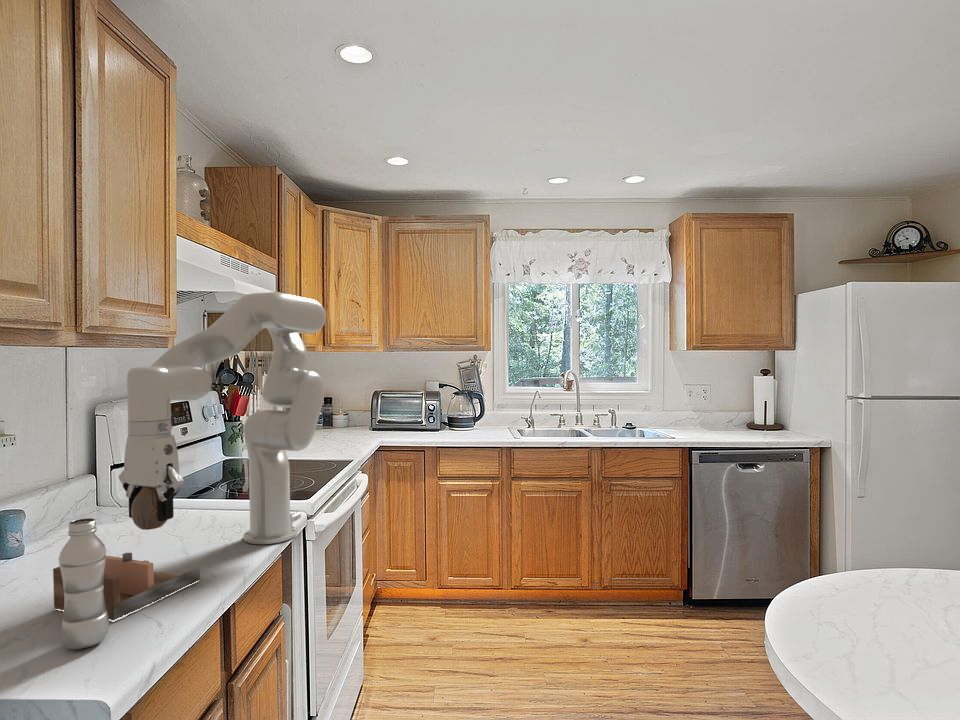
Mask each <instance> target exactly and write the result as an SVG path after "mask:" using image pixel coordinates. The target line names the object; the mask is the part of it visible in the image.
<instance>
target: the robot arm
mask: <svg viewBox="0 0 960 720" xmlns="http://www.w3.org/2000/svg"><path fill="white" fill-rule="evenodd" d="M326 319H327V315H326V310H325V308H324V306H323V305H322V303H320V302H319V301H317V300H316V299H314V298H313V299H312V298H309V297H308V298H307V297H304V296H298V295H295V294H289V293H284V292H277V291H275V292H273V291H271V292H269V291H268V292H254V293H253V292H252V293H248V294H245V295H243V296H242V297H240V298H239V299H238V300H237V301H236V302H235V303H233V304H232V305H231V306H230V307H229V308H228V309H227V310H226V311H225V312H224V313H223V314H222V315H220V316H219V318H218V319H216V320H215V322H213V323H212V324H211V325H210V326H209V327H207V328H206V329H204V330H203V329H202V330H201V331H199V332H197V333H196V334H195V333H194V335H192V336H190V337H188V338H187V339H184V340H183V341H179V343H177V344H175V345H174V346H172V347H170V349H169V348H168V350H167V351H166V352H164V353H163V354H162V355H161V356H160V357H159V358H157V360H155V362H154V363H152V364H151V365H150V366H137V367H133V368H130V369H129V370H128V371H127V375H126V376H127V377H126V382H127V383H126V387H127V389H126V390H127V391H126V392H127V436H126V437H127V438H126V443H125V450H124V461H123V463H124V464H123V465H124V466H123V467H124V468H123V469H124V470H123V471H121V473H120V474H119V475H118V480H119V481H120V483H121V484H122V487H123V489H124V491H125V493H126V494H125V496H126V497H127V498H128V518H130V519H132V516H131V506H132V503H133V500H134V498H135V497H136V495H137V494H138V493H139V492H140V490H141V489H142V487H152V488H156V490H157V493H158V495H159V498H160V500H161V501H158V521H160V522H162V521H165V520H167V521H168V520H171V519H173V518H174V499H176V496H177V494H178V493H179V492H180V489H182V486H183V485H184V483H185V480H184V479H183V478H182V477H181V475H180V465H179V463H180V462H179V461H180V460H179V454H178V447H177V441H176V439H175V435H174V434H172V429H173V425H172V407H171V406H172V405H171V402H172V401H184V402H185V401H197V400H199V399H202V398H205V396H207V394H208V393H209V392H210V391H211V388H212V385H213V381H212V380H213V379H212V377H211V375H210V373H209V372H208V371H207V369H205V368H204V367H205V366H207V365H210V364H211V365H212V364H214V363H217V362H221V361H224V360H227V359H230V358H232V357H234V356H237V355H238V354H240V353H241V352H242V350H243V349H244V348H246V347H247V345H248V344H249V343H250V342H252V340H253V339H254V338H255V337H256V336H257V335H258V334H259V333H260V331H262V330H265V329H266V330H267V331H268V333H269V335H270V338H271V340H272V344H273V351H272V357H271V361H270V364H269V366H268V370H267V374H266V377H265V380H264V384H263V387H262V393H261V394H262V399H263V400H264V402H265V403H266V404H267V405H270V406H273V407H276V408H279V407H280V408H289V409H290V410H277V409H276V410H275V409H274V410H272V409H271V410H270V409H264V410H263V409H262V410H258V411H255V412H253V413H251V414H250V415H249V416H248V418H247V419H246V421H245V423H244V426H243V437H244V441H245V445H246V446H245V447H246V449H247V456H248V481H249V483H248V484H249V486H248V488H249V490H248V491H249V494H248V496H249V530H247V531H246V532H244V533H243V536H242V537H243V540H244V542H245V543H248V544H253V545H270V544H271V545H272V544H278V543H282V542H283V543H284V542H286V541H289V540H292V539H293V538H295V537H296V536H297V534H298V530H297V528H296V527H295V526H293V523H295V521H298V520H301V518H302V517H301V516H302V514H301V513H300V512H298V511H297V512H294V513H291V482H290V480H291V479H290V478H291V476H290V474H291V473H290V472H291V471H290V462H289V458H288V455H287V454H286V452H287V451H288V452H289V451H290V452H300V451H303V450H305V449H306V448H308V447H309V445H310V444H311V443H312V441H313V438H314V436H315V433H316V428H317V426H318V423H319V418H320V415H321V411H322V407H323V405H324V404H323V403H324V398H325V393H326V392H325V389H326V388H325V383H324V380H323V378H322V377H321V376H320V374H319V373H318V372H315V371H313V370H308V369H305V368H306V364H307V360H308V351H307V348H306V345H305V343H304V341H303V339H302V338H301V336H300V334H316V333H318V332H319V331H320V330H322V329H323V327H324V325H325V324H326ZM164 489H166V491H165V490H164Z"/></svg>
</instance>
